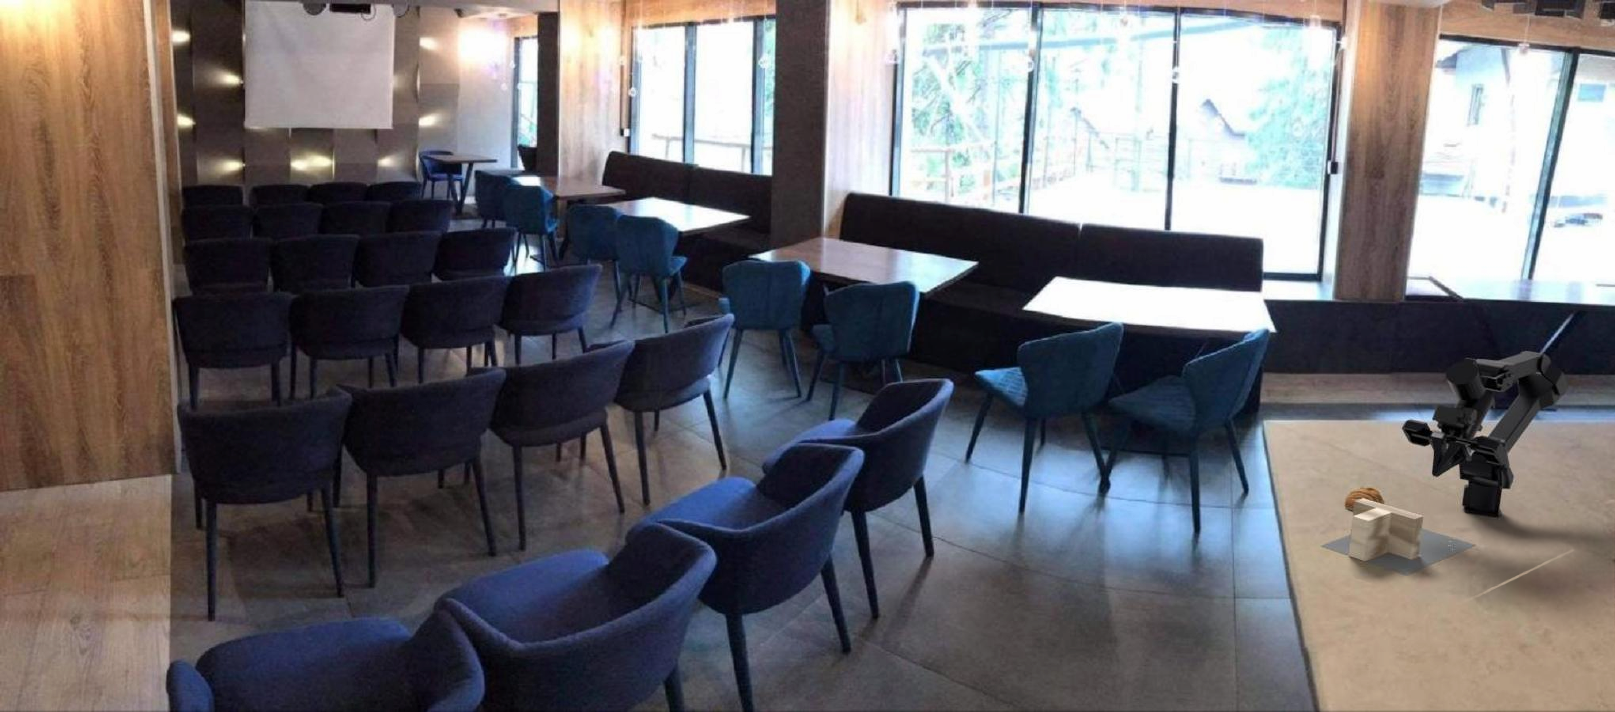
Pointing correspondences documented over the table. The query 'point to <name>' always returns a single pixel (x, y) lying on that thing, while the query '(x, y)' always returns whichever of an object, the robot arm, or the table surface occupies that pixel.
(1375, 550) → the t block
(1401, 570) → the mat
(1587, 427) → the table surface
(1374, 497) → the pastry
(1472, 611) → the table surface
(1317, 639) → the table surface
